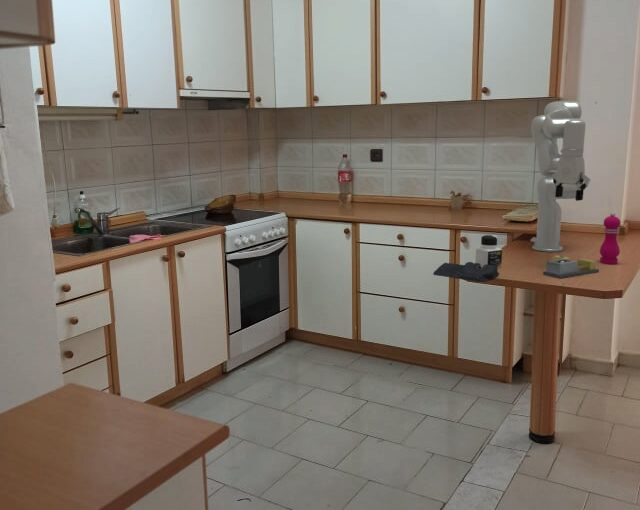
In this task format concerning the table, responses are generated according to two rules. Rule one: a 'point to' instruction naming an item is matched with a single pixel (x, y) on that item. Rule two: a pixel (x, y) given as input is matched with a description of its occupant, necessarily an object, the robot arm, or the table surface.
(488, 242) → the medicine bottle
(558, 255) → the block
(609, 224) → the pepper mill
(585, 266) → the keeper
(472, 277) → the dark grey cloth
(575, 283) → the table surface
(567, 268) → the link
